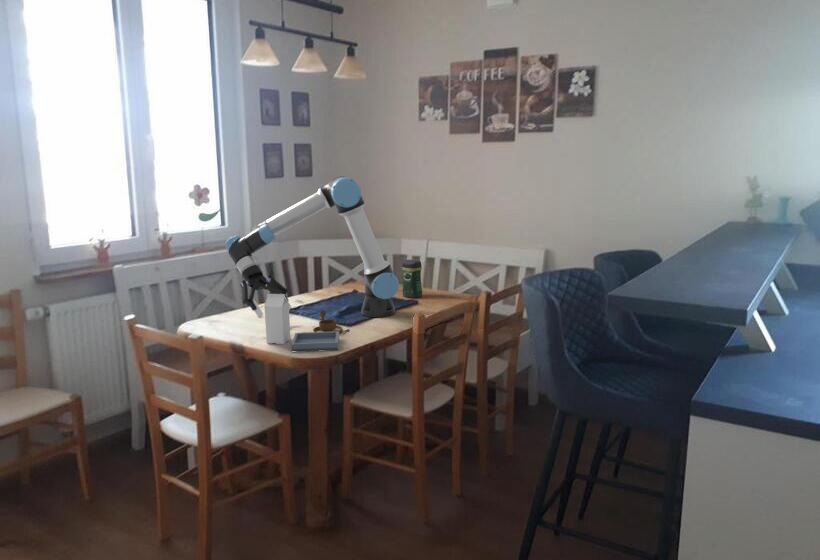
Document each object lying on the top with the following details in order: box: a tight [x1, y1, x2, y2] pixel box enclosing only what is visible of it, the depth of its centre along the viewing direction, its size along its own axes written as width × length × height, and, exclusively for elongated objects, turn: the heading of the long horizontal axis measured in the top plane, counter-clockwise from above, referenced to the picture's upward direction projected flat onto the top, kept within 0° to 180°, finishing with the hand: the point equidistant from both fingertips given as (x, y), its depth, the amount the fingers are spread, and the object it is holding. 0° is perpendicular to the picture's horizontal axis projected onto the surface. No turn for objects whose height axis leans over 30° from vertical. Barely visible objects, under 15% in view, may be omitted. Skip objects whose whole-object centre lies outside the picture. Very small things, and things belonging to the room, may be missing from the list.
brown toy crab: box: [312, 309, 350, 335], centre depth 269 cm, size 18×20×6 cm
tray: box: [291, 330, 340, 352], centre depth 247 cm, size 17×15×3 cm
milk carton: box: [264, 293, 292, 345], centre depth 251 cm, size 7×7×19 cm
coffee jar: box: [401, 259, 423, 299], centre depth 323 cm, size 10×8×19 cm
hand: (275, 312), depth 250 cm, fingers open, 13 cm apart
